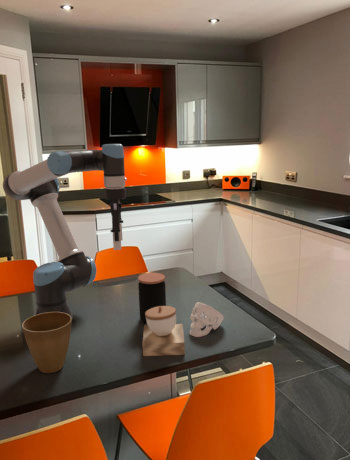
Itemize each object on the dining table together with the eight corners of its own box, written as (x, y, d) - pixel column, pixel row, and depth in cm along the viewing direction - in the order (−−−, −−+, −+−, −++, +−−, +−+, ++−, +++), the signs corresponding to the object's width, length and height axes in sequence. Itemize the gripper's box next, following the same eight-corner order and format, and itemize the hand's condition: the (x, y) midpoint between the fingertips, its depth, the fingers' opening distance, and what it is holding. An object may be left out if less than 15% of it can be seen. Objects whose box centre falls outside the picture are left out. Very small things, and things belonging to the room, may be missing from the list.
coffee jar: (170, 315, 165) (169, 273, 161) (160, 327, 155) (159, 282, 151) (146, 312, 168) (144, 271, 164) (135, 323, 158) (133, 280, 154)
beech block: (142, 357, 135) (142, 343, 134) (144, 337, 148) (144, 324, 147) (184, 356, 135) (184, 342, 134) (182, 336, 149) (182, 323, 148)
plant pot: (78, 374, 125) (74, 326, 121) (27, 384, 120) (21, 335, 117) (73, 351, 139) (69, 308, 135) (27, 359, 134) (22, 315, 130)
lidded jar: (147, 340, 135) (144, 314, 133) (147, 328, 145) (144, 303, 144) (179, 336, 136) (176, 309, 134) (176, 324, 146) (173, 299, 145)
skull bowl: (177, 329, 149) (189, 298, 152) (199, 337, 159) (210, 307, 161) (198, 338, 142) (210, 305, 144) (220, 346, 152) (231, 315, 154)
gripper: (124, 191, 133) (127, 253, 138) (126, 183, 157) (128, 236, 162) (101, 192, 132) (105, 254, 137) (106, 184, 157) (110, 237, 161)
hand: (118, 244), depth 149 cm, fingers open, 13 cm apart
